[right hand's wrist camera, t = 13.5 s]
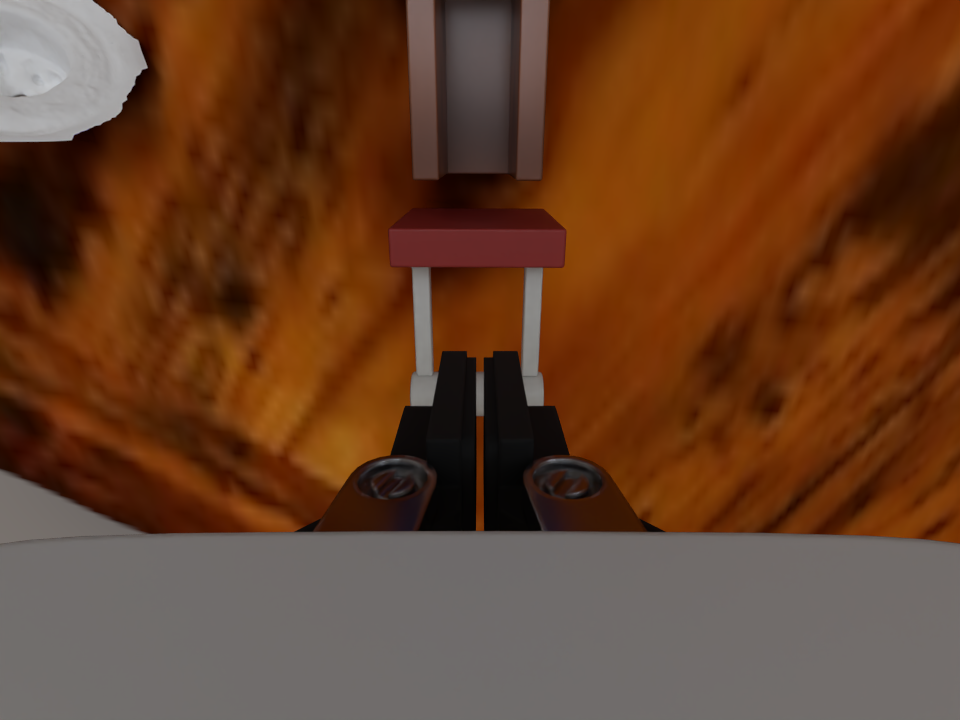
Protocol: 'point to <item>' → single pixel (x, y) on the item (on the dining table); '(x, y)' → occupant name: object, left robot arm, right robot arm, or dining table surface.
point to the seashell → (62, 68)
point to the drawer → (477, 160)
